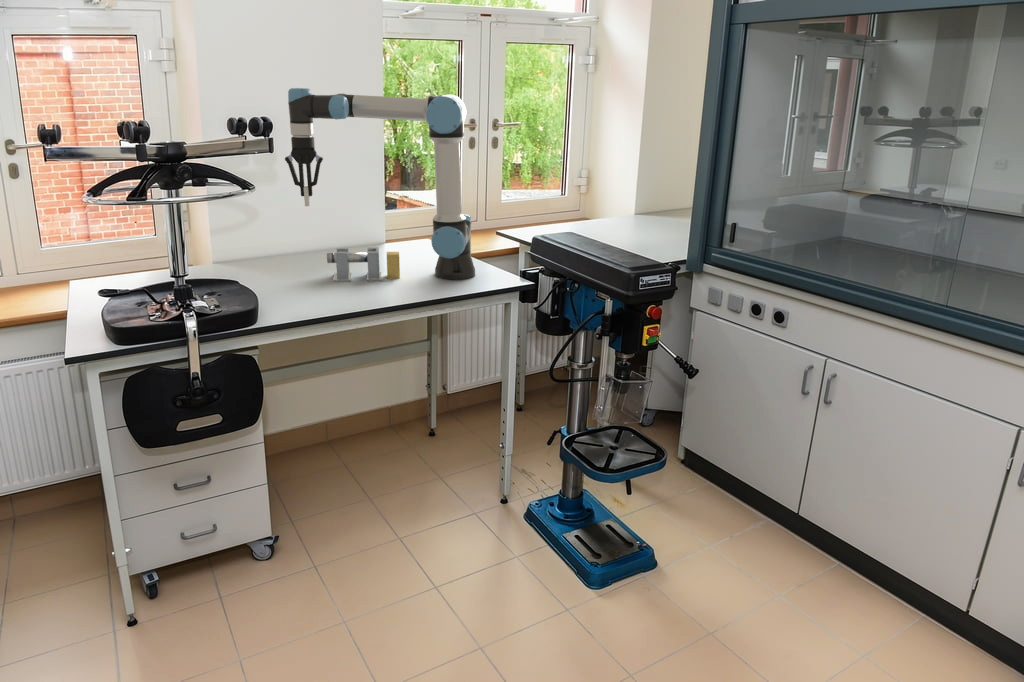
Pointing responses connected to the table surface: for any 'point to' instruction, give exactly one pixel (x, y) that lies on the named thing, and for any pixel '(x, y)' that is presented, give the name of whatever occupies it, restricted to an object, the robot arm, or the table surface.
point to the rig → (343, 265)
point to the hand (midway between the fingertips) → (307, 205)
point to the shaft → (349, 257)
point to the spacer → (393, 265)
